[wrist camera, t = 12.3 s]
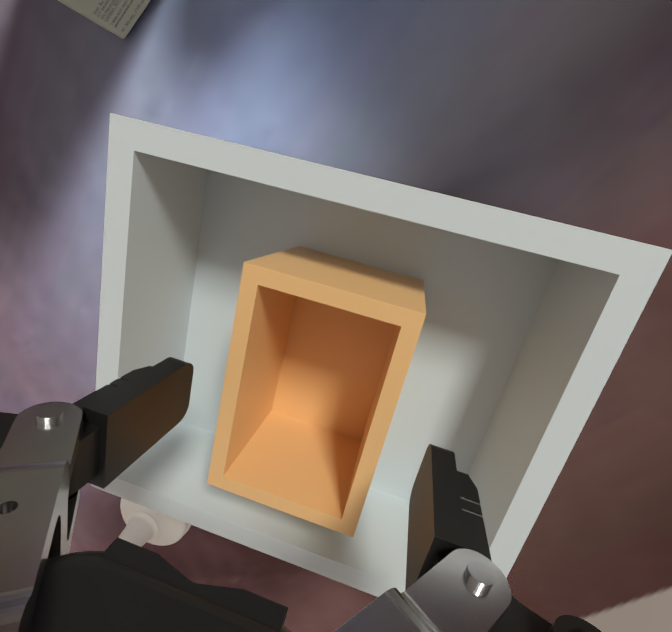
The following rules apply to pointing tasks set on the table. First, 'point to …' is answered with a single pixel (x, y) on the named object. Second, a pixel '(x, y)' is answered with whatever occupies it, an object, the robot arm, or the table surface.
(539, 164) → the table surface
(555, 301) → the big crate
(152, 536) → the chess piece
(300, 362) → the small crate
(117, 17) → the skincare box
